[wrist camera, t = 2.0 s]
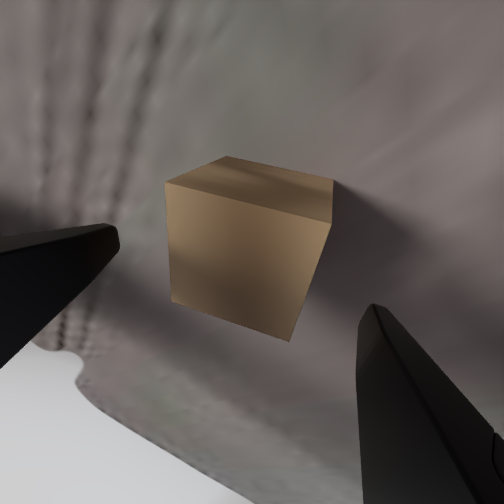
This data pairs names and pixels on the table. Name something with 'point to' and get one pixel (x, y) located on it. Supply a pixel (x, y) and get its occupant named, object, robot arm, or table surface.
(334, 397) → the table surface
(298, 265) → the tan wooden cube
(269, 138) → the table surface
